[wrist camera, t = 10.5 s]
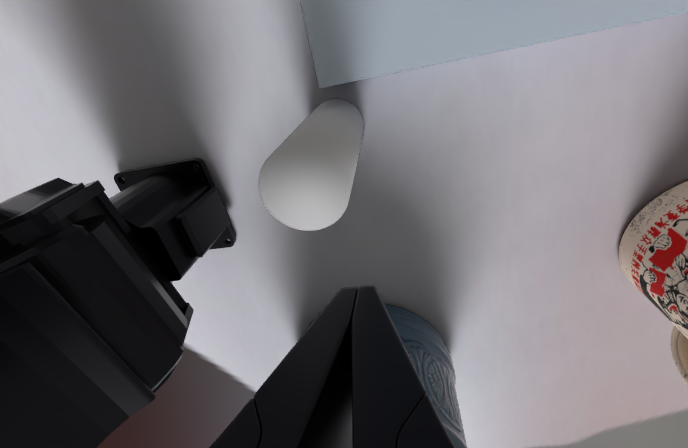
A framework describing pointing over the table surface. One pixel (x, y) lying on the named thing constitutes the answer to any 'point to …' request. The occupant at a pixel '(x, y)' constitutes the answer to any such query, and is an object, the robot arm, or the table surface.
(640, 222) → the teacup with lid
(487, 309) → the table surface
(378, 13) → the panel
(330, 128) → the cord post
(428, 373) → the canister
